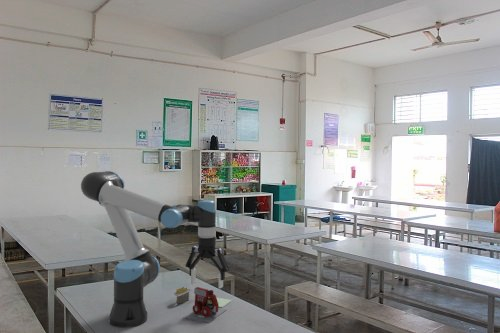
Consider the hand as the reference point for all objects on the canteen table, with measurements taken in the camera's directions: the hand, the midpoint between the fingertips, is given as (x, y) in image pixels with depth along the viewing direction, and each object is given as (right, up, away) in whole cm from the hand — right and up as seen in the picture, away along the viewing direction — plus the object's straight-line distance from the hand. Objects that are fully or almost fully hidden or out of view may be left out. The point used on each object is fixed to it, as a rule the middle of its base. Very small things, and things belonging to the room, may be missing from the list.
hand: (206, 285), depth 175 cm
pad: (+4, -12, +14) cm, 19 cm away
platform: (-13, -13, +15) cm, 24 cm away
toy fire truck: (0, -12, 0) cm, 12 cm away
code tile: (0, -12, 0) cm, 12 cm away
